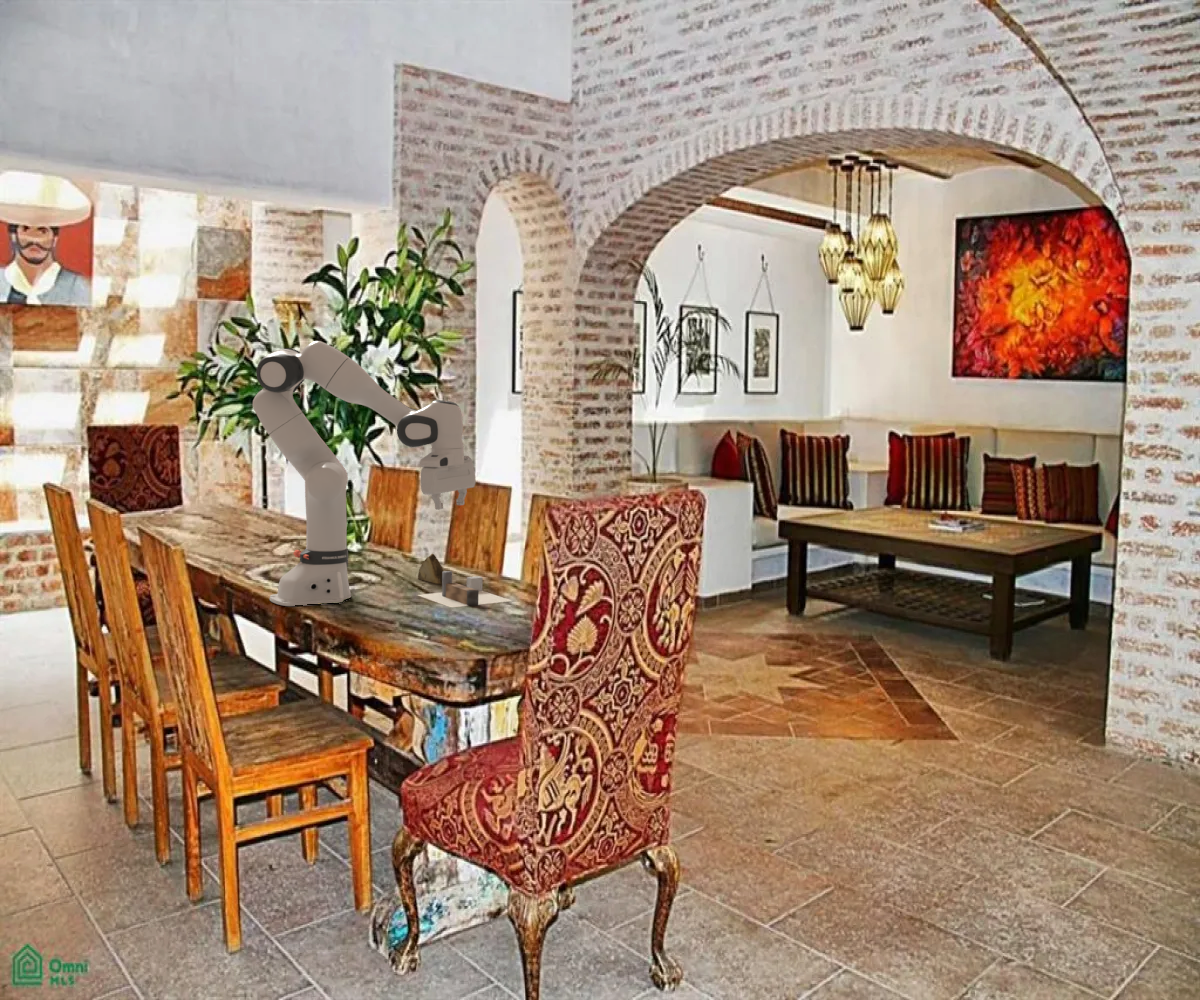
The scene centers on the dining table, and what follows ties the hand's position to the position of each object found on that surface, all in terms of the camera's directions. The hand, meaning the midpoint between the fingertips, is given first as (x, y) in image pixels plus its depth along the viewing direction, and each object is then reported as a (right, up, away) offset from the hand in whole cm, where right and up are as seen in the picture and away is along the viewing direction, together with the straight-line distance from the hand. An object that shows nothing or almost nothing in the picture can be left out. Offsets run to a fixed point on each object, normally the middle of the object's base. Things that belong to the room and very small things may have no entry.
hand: (450, 507), depth 315 cm
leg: (+3, -27, +1) cm, 27 cm away
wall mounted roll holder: (+3, -27, +6) cm, 28 cm away
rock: (-9, -24, +31) cm, 41 cm away
